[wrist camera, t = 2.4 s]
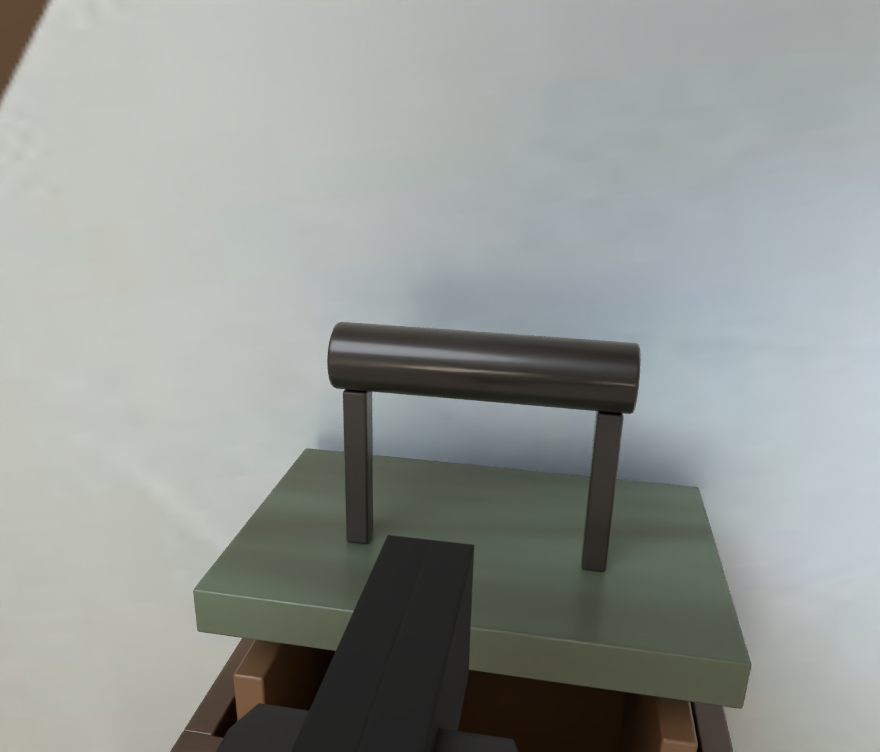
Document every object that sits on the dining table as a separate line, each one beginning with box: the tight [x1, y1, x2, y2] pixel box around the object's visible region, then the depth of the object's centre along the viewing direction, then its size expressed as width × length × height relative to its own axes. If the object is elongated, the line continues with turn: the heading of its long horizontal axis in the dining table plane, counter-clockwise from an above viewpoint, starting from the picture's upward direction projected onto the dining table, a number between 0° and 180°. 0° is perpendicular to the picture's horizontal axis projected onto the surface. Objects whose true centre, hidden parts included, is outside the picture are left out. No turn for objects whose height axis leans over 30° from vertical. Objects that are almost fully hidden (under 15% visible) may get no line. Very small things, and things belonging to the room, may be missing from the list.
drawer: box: [193, 322, 751, 752], centre depth 22 cm, size 20×12×8 cm, turn 179°
